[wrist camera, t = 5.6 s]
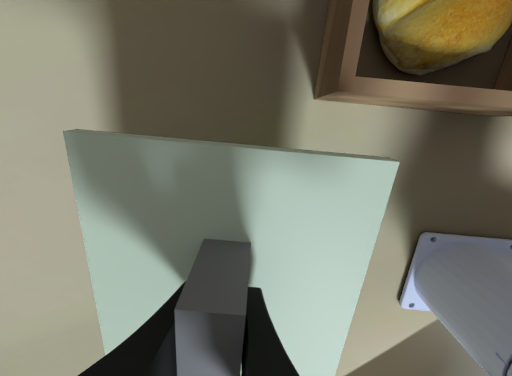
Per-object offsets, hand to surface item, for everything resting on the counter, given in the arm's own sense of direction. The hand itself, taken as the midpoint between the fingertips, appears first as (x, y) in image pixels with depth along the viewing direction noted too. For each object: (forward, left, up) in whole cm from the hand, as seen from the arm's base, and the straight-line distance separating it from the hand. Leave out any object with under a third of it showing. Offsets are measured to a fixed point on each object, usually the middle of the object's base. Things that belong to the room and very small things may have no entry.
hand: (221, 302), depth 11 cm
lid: (0, 0, -2) cm, 2 cm away
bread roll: (-12, -17, -11) cm, 23 cm away
